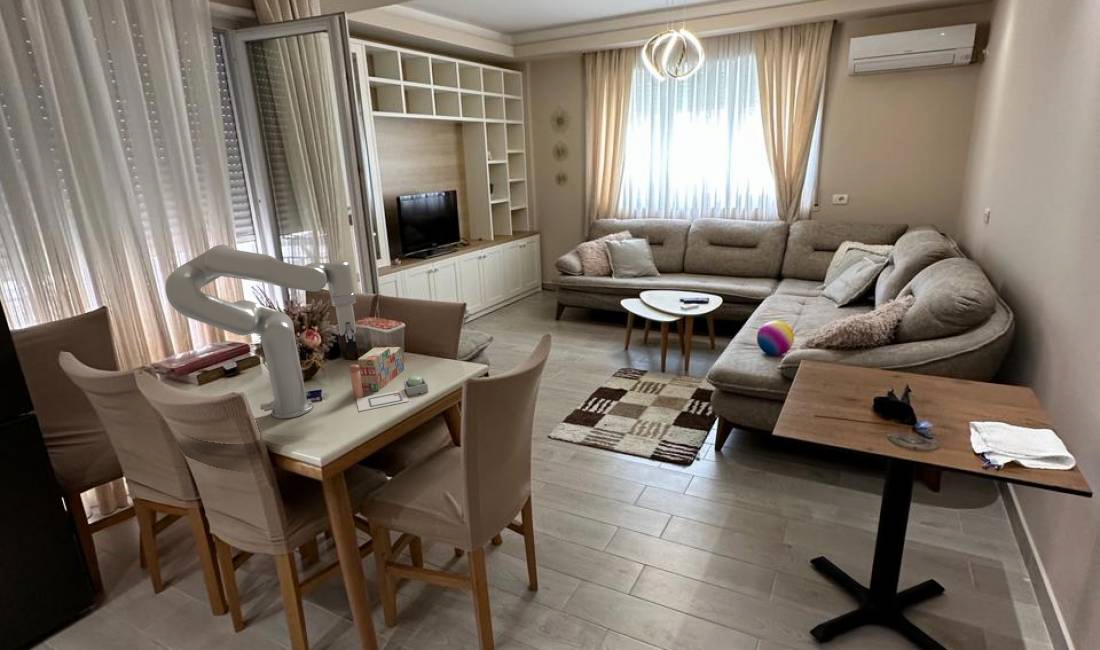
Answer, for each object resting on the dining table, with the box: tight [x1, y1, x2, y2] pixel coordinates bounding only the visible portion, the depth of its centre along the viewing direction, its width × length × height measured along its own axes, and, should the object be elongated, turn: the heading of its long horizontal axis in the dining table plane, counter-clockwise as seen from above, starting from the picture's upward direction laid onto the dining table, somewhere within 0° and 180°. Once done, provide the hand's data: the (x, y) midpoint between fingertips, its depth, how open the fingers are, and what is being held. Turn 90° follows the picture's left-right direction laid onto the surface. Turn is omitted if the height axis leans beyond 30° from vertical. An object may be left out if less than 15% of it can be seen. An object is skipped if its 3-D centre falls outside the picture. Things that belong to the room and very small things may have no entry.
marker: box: [348, 363, 365, 400], centre depth 196 cm, size 3×3×12 cm
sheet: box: [355, 389, 410, 412], centre depth 194 cm, size 16×11×1 cm
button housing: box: [403, 377, 429, 397], centre depth 200 cm, size 7×7×3 cm
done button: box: [407, 375, 423, 387], centre depth 200 cm, size 5×5×3 cm
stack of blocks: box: [357, 346, 405, 392], centre depth 211 cm, size 21×6×12 cm, turn 169°
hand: (351, 348), depth 192 cm, fingers open, 9 cm apart
